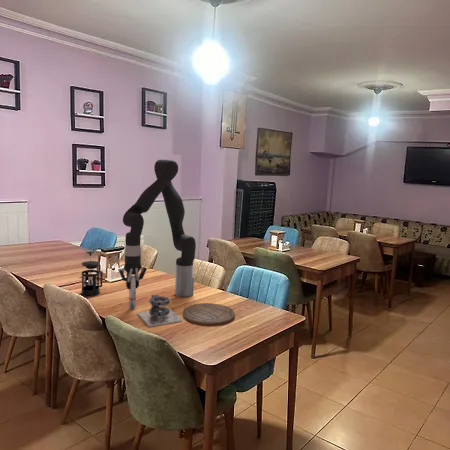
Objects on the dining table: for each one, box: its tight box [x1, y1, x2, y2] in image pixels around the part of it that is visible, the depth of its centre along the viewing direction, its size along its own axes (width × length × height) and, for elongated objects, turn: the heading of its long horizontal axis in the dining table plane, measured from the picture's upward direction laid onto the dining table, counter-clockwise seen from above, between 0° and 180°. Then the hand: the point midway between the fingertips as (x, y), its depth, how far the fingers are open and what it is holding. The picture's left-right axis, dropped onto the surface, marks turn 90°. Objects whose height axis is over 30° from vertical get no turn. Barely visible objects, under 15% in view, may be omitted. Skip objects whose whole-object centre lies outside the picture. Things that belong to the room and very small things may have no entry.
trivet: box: [182, 302, 236, 327], centre depth 197 cm, size 25×25×2 cm
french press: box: [80, 251, 103, 298], centre depth 218 cm, size 12×9×23 cm
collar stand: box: [136, 294, 183, 328], centre depth 190 cm, size 16×16×9 cm
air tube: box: [128, 275, 137, 310], centre depth 199 cm, size 3×3×16 cm
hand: (132, 288), depth 199 cm, fingers closed on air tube, 3 cm apart
